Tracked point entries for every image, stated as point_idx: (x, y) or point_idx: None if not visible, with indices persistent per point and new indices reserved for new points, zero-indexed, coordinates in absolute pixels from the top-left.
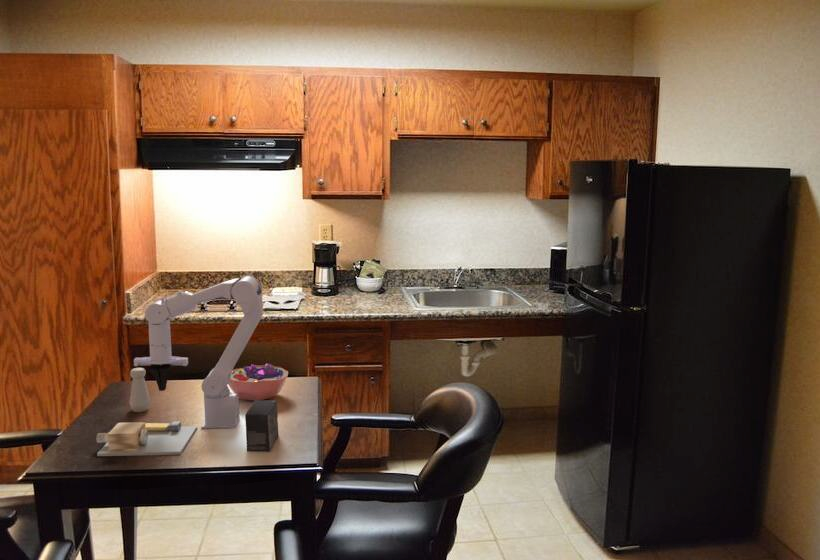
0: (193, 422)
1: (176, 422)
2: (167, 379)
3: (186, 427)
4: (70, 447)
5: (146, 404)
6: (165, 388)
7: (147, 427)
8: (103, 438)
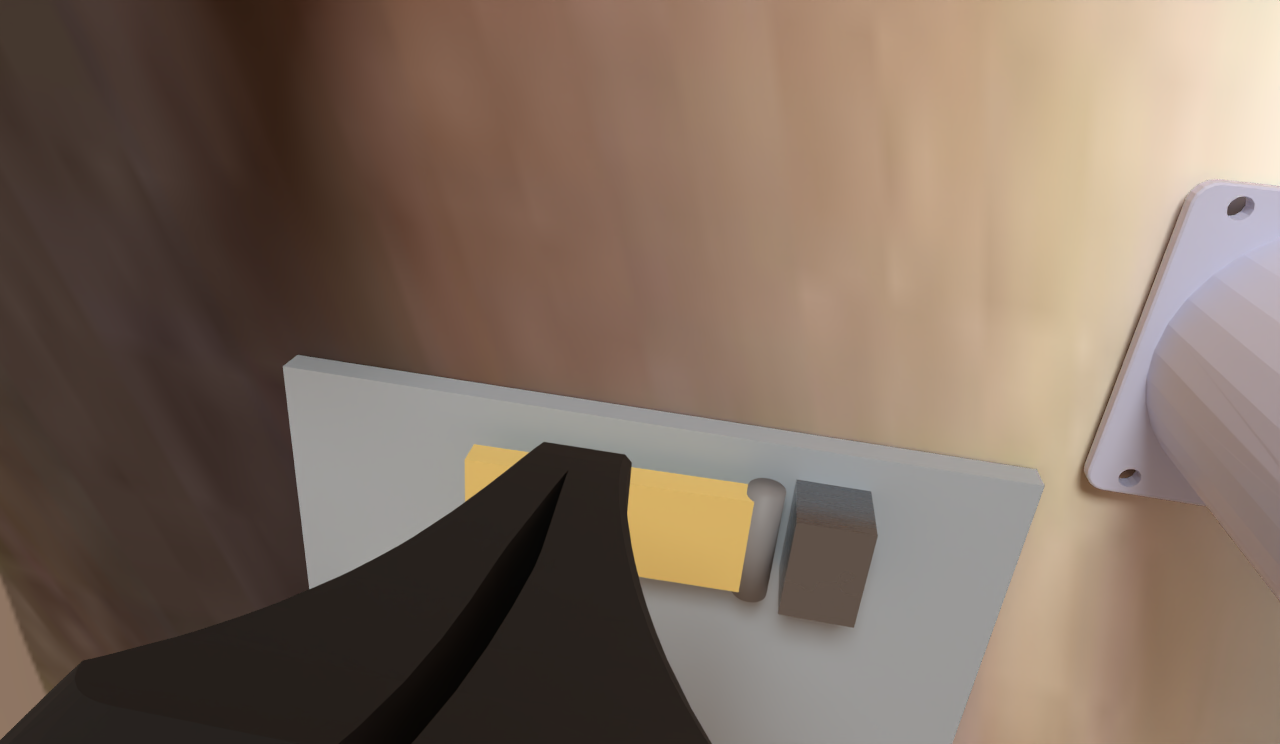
0: (998, 278)
1: (834, 561)
2: (631, 546)
3: (928, 492)
4: (92, 589)
5: None
6: (626, 495)
7: None
8: None
